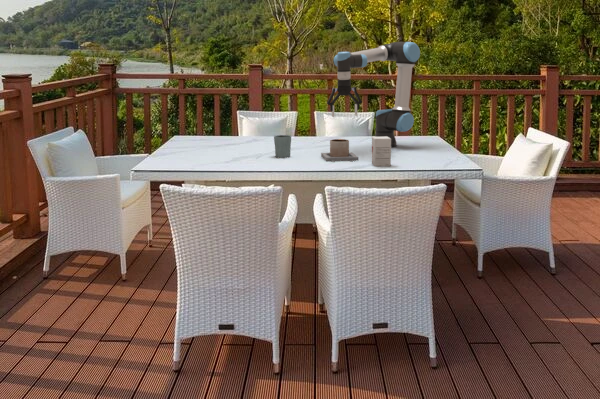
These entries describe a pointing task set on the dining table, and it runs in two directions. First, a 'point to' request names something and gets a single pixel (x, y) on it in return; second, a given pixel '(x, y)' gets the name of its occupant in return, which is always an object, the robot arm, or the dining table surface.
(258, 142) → the dining table surface
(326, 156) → the grey tray
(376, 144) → the supplement box
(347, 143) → the planter
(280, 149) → the grey cup
